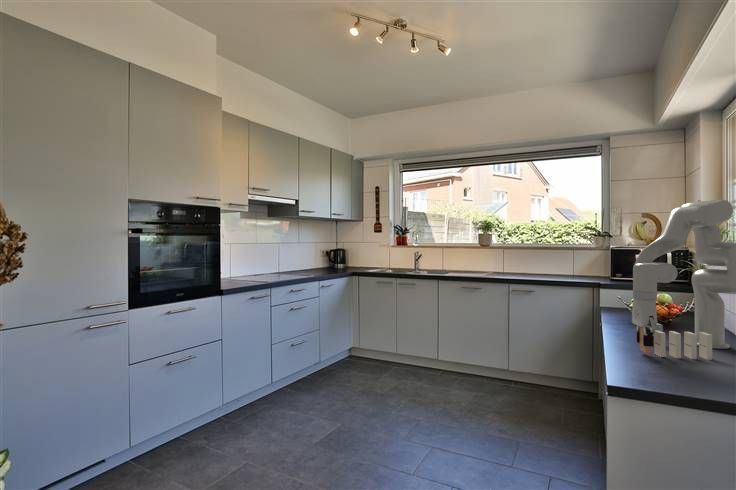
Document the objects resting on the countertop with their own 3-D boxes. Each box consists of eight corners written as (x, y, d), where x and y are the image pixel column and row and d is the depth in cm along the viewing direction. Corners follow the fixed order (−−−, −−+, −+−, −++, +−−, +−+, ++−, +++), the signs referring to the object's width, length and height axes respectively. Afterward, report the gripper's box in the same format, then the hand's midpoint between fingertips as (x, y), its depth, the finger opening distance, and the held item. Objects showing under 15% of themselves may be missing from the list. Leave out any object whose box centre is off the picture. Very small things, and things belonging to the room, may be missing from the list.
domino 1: (644, 350, 157) (644, 326, 157) (650, 353, 152) (650, 329, 152) (639, 350, 157) (639, 326, 157) (645, 353, 152) (645, 328, 152)
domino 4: (689, 355, 154) (688, 331, 154) (696, 359, 149) (696, 334, 149) (684, 355, 154) (684, 331, 154) (691, 358, 149) (691, 334, 149)
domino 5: (704, 356, 153) (704, 332, 153) (712, 359, 148) (712, 335, 148) (699, 356, 153) (699, 332, 153) (707, 359, 148) (707, 334, 148)
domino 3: (673, 355, 155) (673, 331, 155) (680, 358, 150) (680, 333, 150) (669, 354, 155) (669, 331, 155) (676, 358, 150) (675, 333, 150)
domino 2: (659, 354, 156) (659, 330, 156) (665, 357, 151) (665, 333, 151) (654, 354, 156) (654, 330, 156) (660, 357, 151) (660, 333, 151)
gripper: (624, 293, 164) (624, 339, 163) (644, 298, 147) (644, 349, 147) (645, 293, 162) (645, 340, 162) (667, 299, 145) (667, 350, 145)
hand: (644, 343), depth 154 cm, fingers closed on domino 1, 4 cm apart
